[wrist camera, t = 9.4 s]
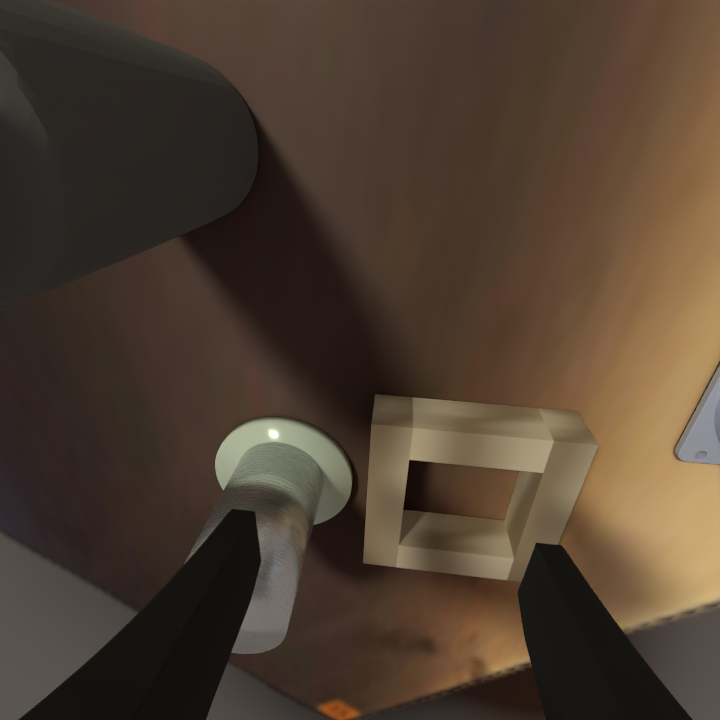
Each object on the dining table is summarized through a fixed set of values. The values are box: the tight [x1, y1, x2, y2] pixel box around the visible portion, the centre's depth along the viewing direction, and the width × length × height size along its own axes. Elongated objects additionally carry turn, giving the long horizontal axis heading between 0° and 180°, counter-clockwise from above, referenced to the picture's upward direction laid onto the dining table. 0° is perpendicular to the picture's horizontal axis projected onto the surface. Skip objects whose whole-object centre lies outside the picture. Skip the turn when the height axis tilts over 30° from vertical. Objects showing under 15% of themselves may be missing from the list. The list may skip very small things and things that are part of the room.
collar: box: [363, 394, 599, 582], centre depth 22 cm, size 10×10×2 cm
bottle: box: [0, 0, 259, 307], centre depth 10 cm, size 6×6×15 cm
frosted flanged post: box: [185, 442, 324, 654], centre depth 20 cm, size 5×5×8 cm
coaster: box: [215, 417, 353, 525], centre depth 24 cm, size 8×8×1 cm
